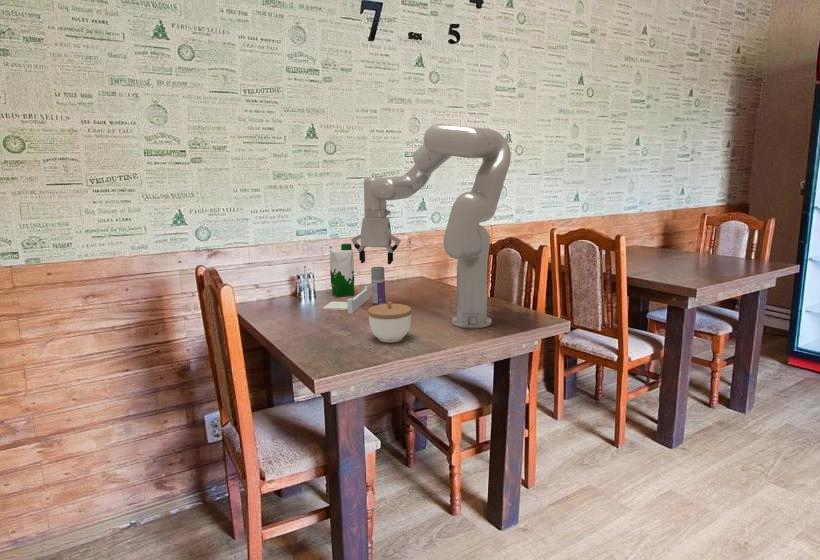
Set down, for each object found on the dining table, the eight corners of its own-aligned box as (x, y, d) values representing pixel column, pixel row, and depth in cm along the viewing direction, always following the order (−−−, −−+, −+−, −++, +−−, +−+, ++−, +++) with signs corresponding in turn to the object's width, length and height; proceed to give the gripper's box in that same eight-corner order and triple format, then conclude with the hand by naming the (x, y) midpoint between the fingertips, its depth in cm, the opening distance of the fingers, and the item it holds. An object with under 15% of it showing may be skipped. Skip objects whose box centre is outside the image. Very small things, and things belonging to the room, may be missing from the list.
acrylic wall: (352, 313, 190) (351, 299, 189) (347, 313, 191) (347, 299, 190) (369, 298, 211) (369, 285, 210) (365, 298, 211) (364, 285, 210)
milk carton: (356, 296, 216) (354, 245, 212) (333, 298, 213) (331, 246, 209) (352, 291, 224) (350, 242, 220) (329, 293, 221) (327, 243, 217)
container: (385, 307, 198) (384, 266, 195) (385, 310, 193) (384, 268, 190) (372, 307, 198) (371, 266, 194) (372, 311, 193) (370, 269, 190)
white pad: (347, 310, 195) (347, 308, 195) (323, 309, 197) (322, 307, 197) (354, 303, 204) (354, 302, 204) (331, 303, 206) (331, 301, 206)
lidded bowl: (360, 339, 162) (358, 302, 160) (391, 329, 171) (390, 295, 169) (389, 348, 154) (388, 310, 151) (420, 338, 162) (420, 301, 160)
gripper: (402, 213, 190) (402, 262, 194) (354, 212, 194) (355, 260, 198) (397, 215, 183) (398, 266, 187) (347, 214, 187) (349, 264, 190)
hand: (376, 263), depth 192 cm, fingers open, 9 cm apart
